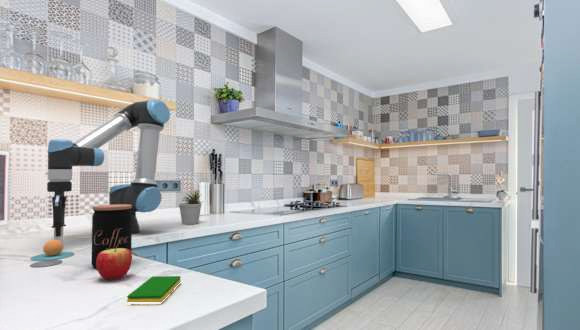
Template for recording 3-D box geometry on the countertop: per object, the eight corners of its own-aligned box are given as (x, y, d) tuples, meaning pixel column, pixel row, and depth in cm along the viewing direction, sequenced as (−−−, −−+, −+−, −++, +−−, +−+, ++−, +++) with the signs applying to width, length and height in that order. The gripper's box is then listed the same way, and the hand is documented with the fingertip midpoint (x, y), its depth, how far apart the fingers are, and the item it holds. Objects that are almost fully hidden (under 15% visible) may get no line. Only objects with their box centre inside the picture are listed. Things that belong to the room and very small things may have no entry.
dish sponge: (181, 285, 82) (181, 275, 82) (161, 307, 68) (161, 295, 68) (152, 285, 82) (152, 276, 82) (126, 307, 68) (126, 295, 68)
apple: (137, 277, 87) (138, 239, 87) (102, 285, 81) (103, 244, 81) (124, 271, 93) (125, 236, 93) (91, 279, 86) (91, 240, 87)
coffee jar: (86, 271, 93) (87, 207, 94) (97, 262, 103) (98, 204, 104) (127, 268, 96) (128, 206, 97) (134, 259, 106) (134, 203, 107)
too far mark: (65, 259, 107) (65, 259, 107) (57, 265, 99) (57, 265, 99) (36, 261, 104) (36, 261, 104) (25, 268, 97) (25, 267, 97)
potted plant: (197, 225, 183) (197, 189, 183) (174, 225, 185) (174, 189, 185) (207, 222, 195) (207, 188, 196) (185, 222, 197) (185, 188, 198)
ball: (63, 255, 111) (65, 251, 116) (61, 239, 111) (62, 236, 116) (43, 260, 109) (45, 255, 113) (40, 243, 108) (43, 240, 113)
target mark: (78, 251, 119) (78, 250, 119) (68, 258, 108) (68, 258, 108) (38, 253, 115) (38, 253, 115) (24, 262, 104) (24, 261, 104)
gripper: (50, 181, 127) (49, 242, 126) (43, 181, 115) (42, 249, 114) (73, 180, 130) (72, 241, 129) (69, 181, 119) (68, 247, 118)
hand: (58, 244), depth 122 cm, fingers closed
